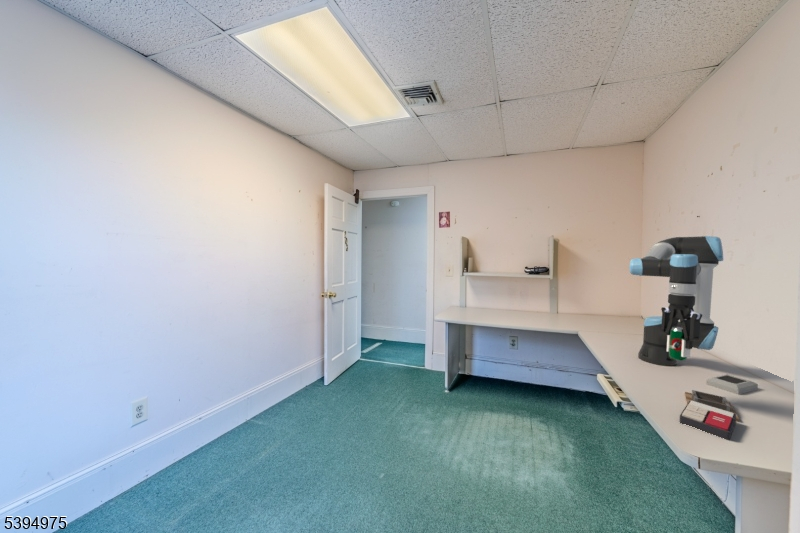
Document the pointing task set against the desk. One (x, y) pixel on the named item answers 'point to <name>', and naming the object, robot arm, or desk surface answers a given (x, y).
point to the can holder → (710, 401)
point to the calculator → (709, 419)
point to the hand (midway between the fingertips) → (677, 354)
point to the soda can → (676, 343)
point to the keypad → (732, 384)
